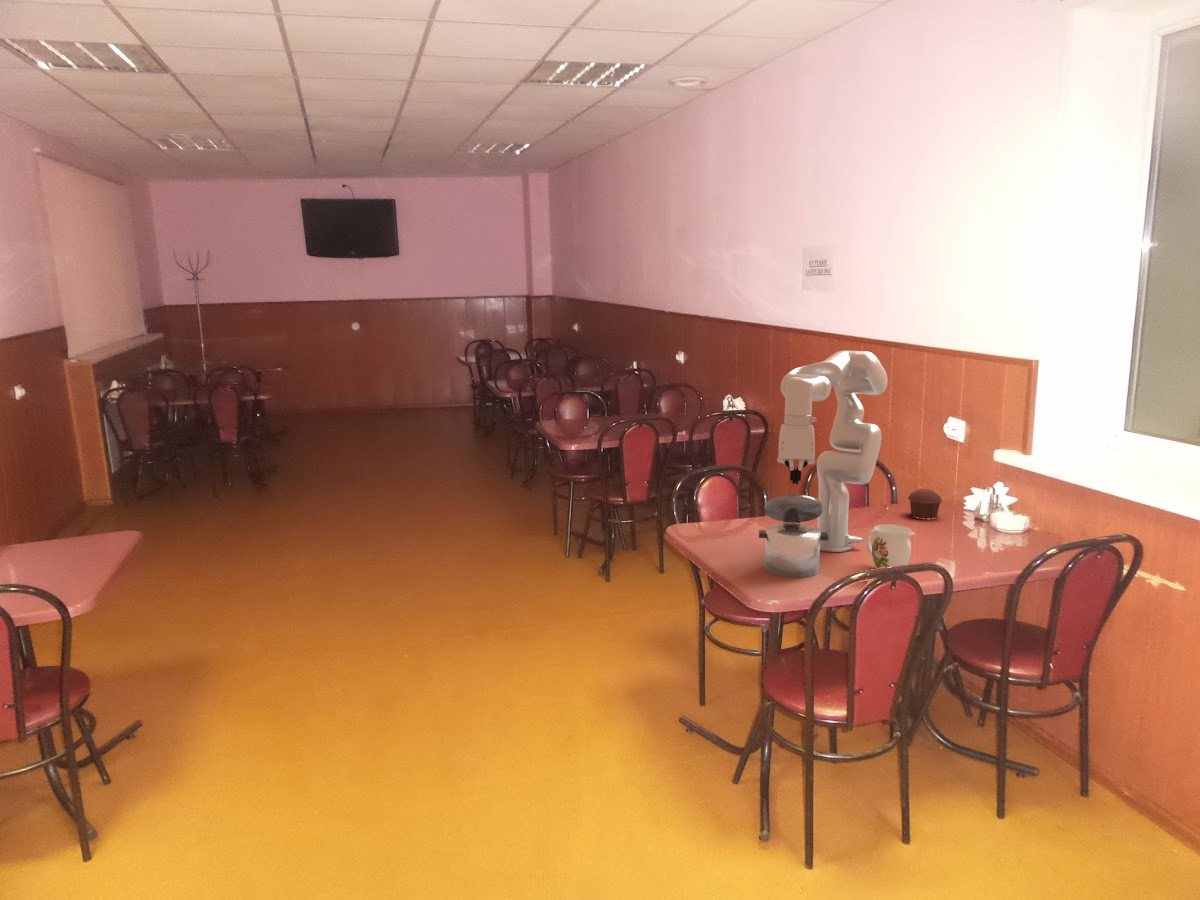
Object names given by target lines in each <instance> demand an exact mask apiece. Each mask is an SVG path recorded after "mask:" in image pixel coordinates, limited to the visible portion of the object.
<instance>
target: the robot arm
mask: <svg viewBox="0 0 1200 900" xmlns="http://www.w3.org/2000/svg"><path fill="white" fill-rule="evenodd" d="M888 381H889V380H888V375H887V372H886V370H885V368H884V367H883V365H882V363H881V362H880V360H879V359H878V357H877V356H876V355H875V354H874V353H872V352H870V351H864V350H863V351H861V350H839V351H836V352H835V353H834V354H832V355H830V356H828V357H827V358H825V359H824V360H823V361H819V362H814V363H811V364H807V365H802V366H799V367H796V368H793V369H792V370H789V372H787V373H786V374H785V375H784V376H783V378H782V379H781V382H780V383H781V384H780V392H781V394H782V396H783V398H784V401H785V402H784V420H783V421H784V423H783V424H781V426H780V429H779V437H778V449H777V450H778V453H777V454H778V456H777V459H776V461H777V463H779V464H783V465H785V466H786V467H787V468H788V469H789V470H790V471H789V481H791V482H792V485H799V482H800V481H801V480H802V470H803V469H804V468H806V466H810V465H814V464H815V463H816V472H817V480H818V499H817V500H819V501H820V502H821V503H822V505H823V513H822V514H821V515H820V516H819V517H818V518H817V522H816V523H817V524H816V525H817V526H816V528H818V529H819V530H820V531H821V532H826V533H827V534H828V541H826V540H820V551H822V552H826V553H827V552H828V553H842V552H843V553H844V552H849V551H850V550H852V547H853V546H852V544H863V537H858V536H857V535H850V534H849V533H848V530H849V529H848V527H849V508H850V507H849V505H850V494H849V493H850V492H849V490H848V488H847V487H846V484H845V483H847V484H848V483H849V484H853V485H854V484H856V485H866V484H868V483H870V481H871V480H872V477H873V475H874V472H875V467H876V464H877V460H878V457H879V453H880V449H881V445H882V439H883V438H882V431H881V429H880V427H879V426H878V425H877V424H873V423H869V422H863V420H864V415H865V408H864V406H863V403H862V402H861V401H860V399H859V398H858V397H857V395H870V396H878V395H881V394H883V393H885V391H886V390H887V387H888ZM832 388H834V393H835V394H834V395H835V397H836V402H837V410H836V414H835V417H834V420H833V423H832V424H833V425H832V426H831V427H832V428H831V431H830V434H829V435H830V436H829V444H830V446H831V447H832V448H834V449H836V450H826V451H822V452H821V453H820V454H819V456H818V457H817V461H816V459H815V453H816V441H815V440H816V439H815V428H814V425H813V423H814V422H815V423H816V422H817V417H818V416H817V417H816V416H813V413H812V412H813V402H823V401H825V400H827V398H828V397H829V396H830V394H831V391H832ZM794 461H798V462H797V466H796V467H795V466H794Z"/></svg>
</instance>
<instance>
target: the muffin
mask: <svg viewBox="0 0 1200 900" xmlns="http://www.w3.org/2000/svg"><path fill="white" fill-rule="evenodd" d="M907 499H908V501H909V504H910V513H911V514H910V515H913V516H915V517H919V518H925V519H927V518H931V519H932V518H935V517H938V514H939V513H938V512H939V509H940V504H941V503H942V502H943V499H942V496H940V495H939V494H938V493H937V492H936V491H935V490H932V489H927V488H920V489H916V490H914V491H912V492H911V493H910V494H909V495H908V497H907Z"/></svg>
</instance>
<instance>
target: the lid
mask: <svg viewBox="0 0 1200 900" xmlns="http://www.w3.org/2000/svg"><path fill="white" fill-rule="evenodd" d="M764 513H765V515H767V517H769V518H770V519H773V520H775V521H779V522H782V523H798V524H801V523H804V522H805V523H806V522H809V521H813V520H816V519H818V517H819V516H820V515H821V514H822V513H823V505H822V503H821V502H820V501H819V500H818V499H817V498H816V497H812V496H809V495H805V494H781V495H777V496H775V497H772V498H770V499H768V500H767V501H766V502H765V504H764Z"/></svg>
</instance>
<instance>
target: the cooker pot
mask: <svg viewBox="0 0 1200 900" xmlns="http://www.w3.org/2000/svg"><path fill="white" fill-rule="evenodd" d="M758 538H759V539H764V540H765V544H764V545H765V546H764V547H765V548H764V550H765V551H764V570H765V571H766V572H767V573H770V574H772V575H775V576H779V577H783V578H794V579H803V578H804V579H805V578H811V577H813V576H816V575H818V574H819V572H820V559H821V550H820V540H826V541H828V534H827V533H826V532H821V531H820V530H819V529H818V528H817V526H816V527H815V526H812V525H809V524H804V523H789V522H781V523H773V524H770V525H768V526H767V527H765V529H759V530H758Z"/></svg>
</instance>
